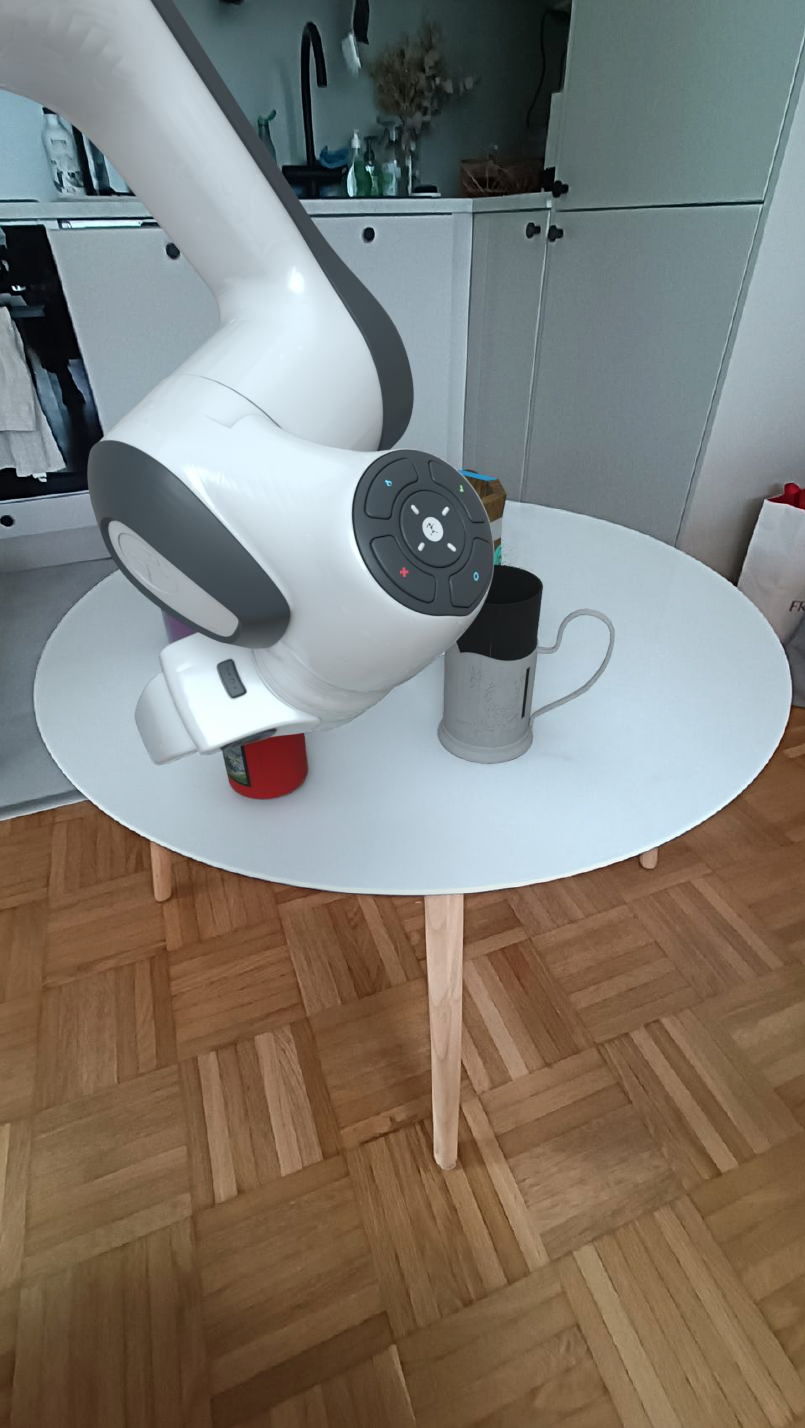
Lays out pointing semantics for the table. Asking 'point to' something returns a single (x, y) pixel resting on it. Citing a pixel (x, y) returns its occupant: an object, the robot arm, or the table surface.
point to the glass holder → (501, 671)
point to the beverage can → (267, 766)
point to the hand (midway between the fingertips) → (267, 710)
